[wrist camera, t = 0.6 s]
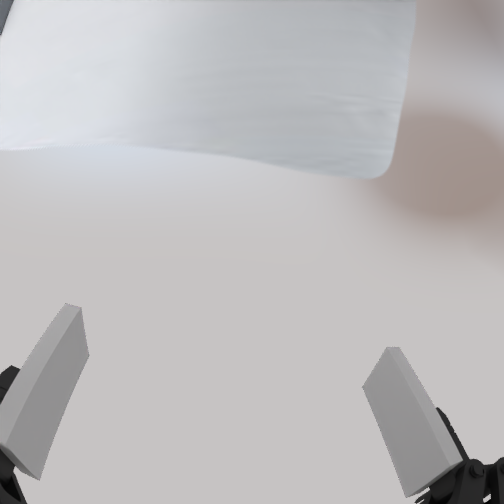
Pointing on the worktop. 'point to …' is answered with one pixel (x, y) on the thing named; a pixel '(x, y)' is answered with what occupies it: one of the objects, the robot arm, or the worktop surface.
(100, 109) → the worktop surface
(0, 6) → the socket frame
